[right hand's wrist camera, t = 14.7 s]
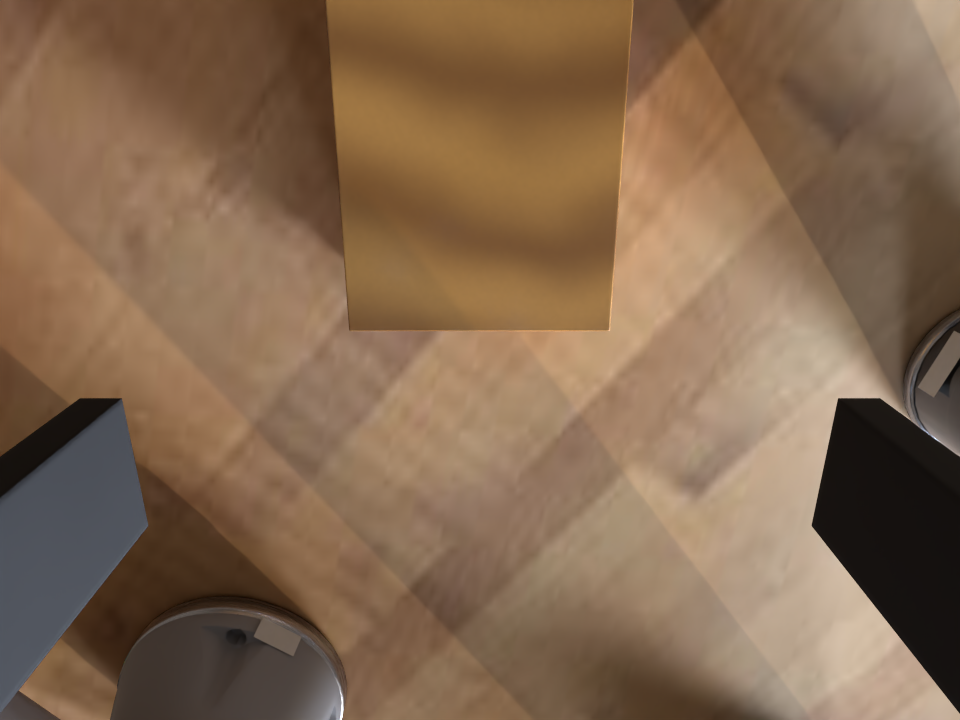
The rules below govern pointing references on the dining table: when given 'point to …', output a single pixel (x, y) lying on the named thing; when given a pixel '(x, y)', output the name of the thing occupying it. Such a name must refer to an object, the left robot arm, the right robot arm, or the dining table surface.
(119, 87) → the dining table surface
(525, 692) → the dining table surface
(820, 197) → the dining table surface
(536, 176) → the cabinet
